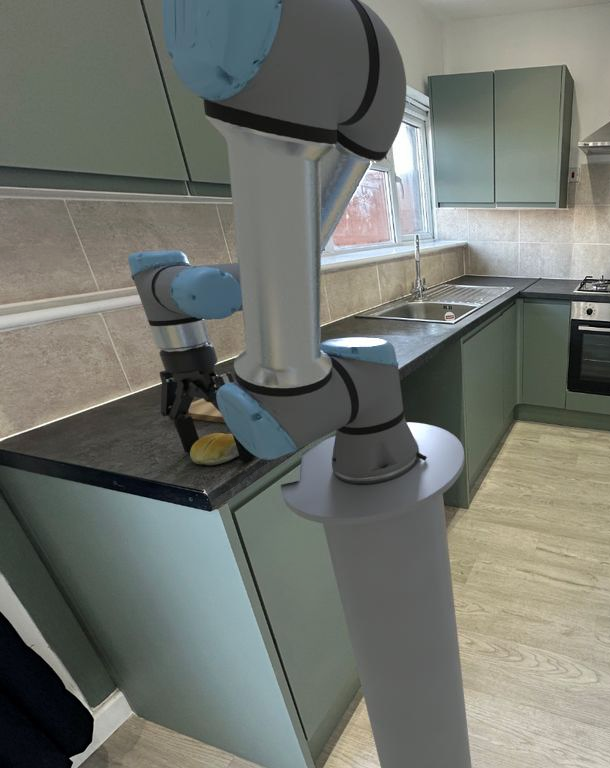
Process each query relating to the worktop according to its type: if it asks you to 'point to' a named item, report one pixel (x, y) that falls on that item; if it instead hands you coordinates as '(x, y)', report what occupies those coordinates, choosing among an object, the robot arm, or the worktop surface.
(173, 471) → the worktop surface
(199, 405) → the cutting board
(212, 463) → the bread roll
